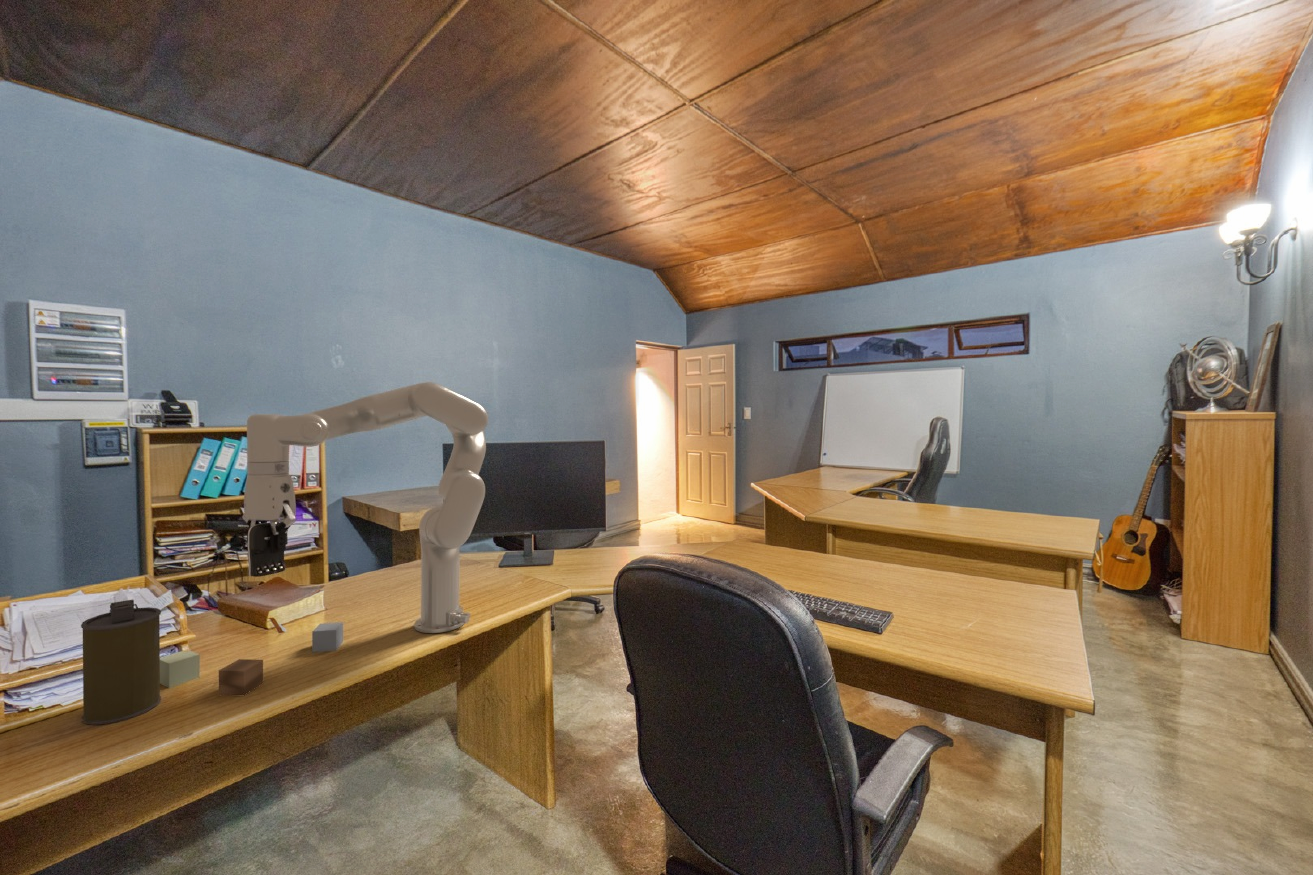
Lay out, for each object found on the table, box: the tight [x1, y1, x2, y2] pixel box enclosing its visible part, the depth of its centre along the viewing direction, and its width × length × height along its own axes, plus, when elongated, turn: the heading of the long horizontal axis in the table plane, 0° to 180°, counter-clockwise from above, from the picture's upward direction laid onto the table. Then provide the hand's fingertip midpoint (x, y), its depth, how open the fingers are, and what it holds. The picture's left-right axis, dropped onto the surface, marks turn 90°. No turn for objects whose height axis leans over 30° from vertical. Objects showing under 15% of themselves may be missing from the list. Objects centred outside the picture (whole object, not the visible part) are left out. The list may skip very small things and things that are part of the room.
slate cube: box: [311, 621, 344, 653], centre depth 127 cm, size 5×5×5 cm
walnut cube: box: [218, 658, 264, 696], centre depth 106 cm, size 5×5×5 cm
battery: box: [246, 521, 289, 578], centre depth 118 cm, size 7×4×11 cm, turn 153°
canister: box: [80, 598, 162, 726], centre depth 98 cm, size 11×10×20 cm
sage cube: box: [160, 649, 201, 689], centre depth 110 cm, size 5×5×5 cm
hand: (269, 549), depth 118 cm, fingers closed on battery, 4 cm apart
